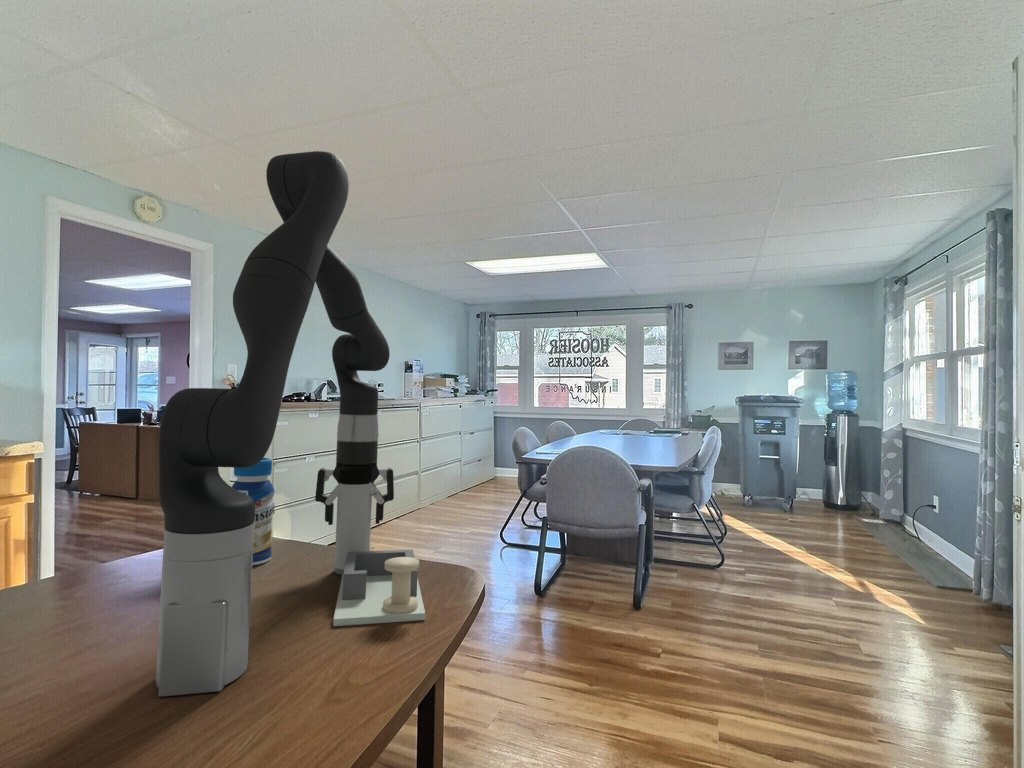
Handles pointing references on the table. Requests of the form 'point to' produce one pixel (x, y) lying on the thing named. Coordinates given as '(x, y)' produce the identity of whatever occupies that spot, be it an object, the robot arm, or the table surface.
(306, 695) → the table surface
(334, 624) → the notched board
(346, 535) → the travel mug
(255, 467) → the beverage bottle
